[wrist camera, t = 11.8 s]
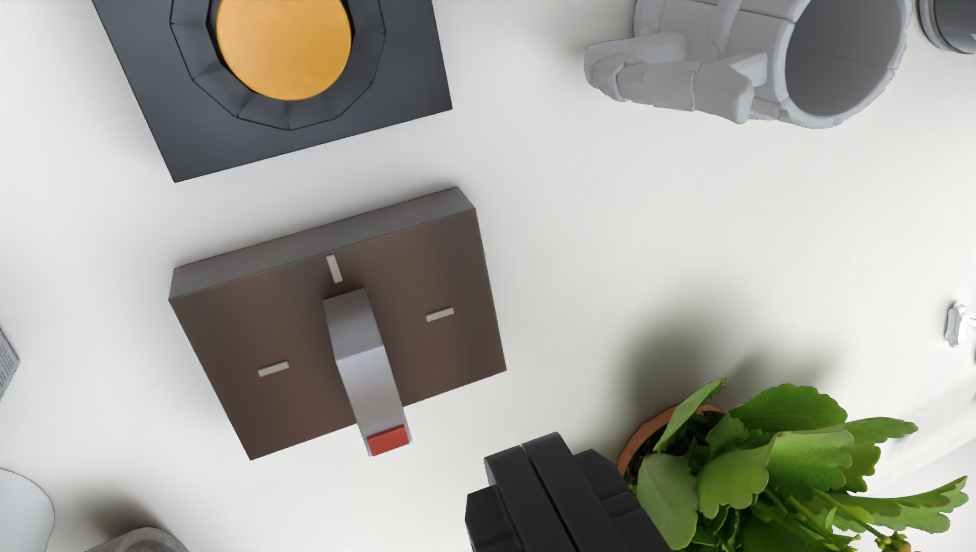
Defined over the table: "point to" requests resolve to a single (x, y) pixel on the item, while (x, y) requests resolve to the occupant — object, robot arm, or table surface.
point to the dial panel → (303, 326)
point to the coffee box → (6, 364)
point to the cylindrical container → (23, 515)
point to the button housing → (257, 118)
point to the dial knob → (366, 372)
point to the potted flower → (772, 475)
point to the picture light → (957, 325)
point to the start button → (284, 44)
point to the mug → (756, 57)
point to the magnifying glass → (142, 542)
